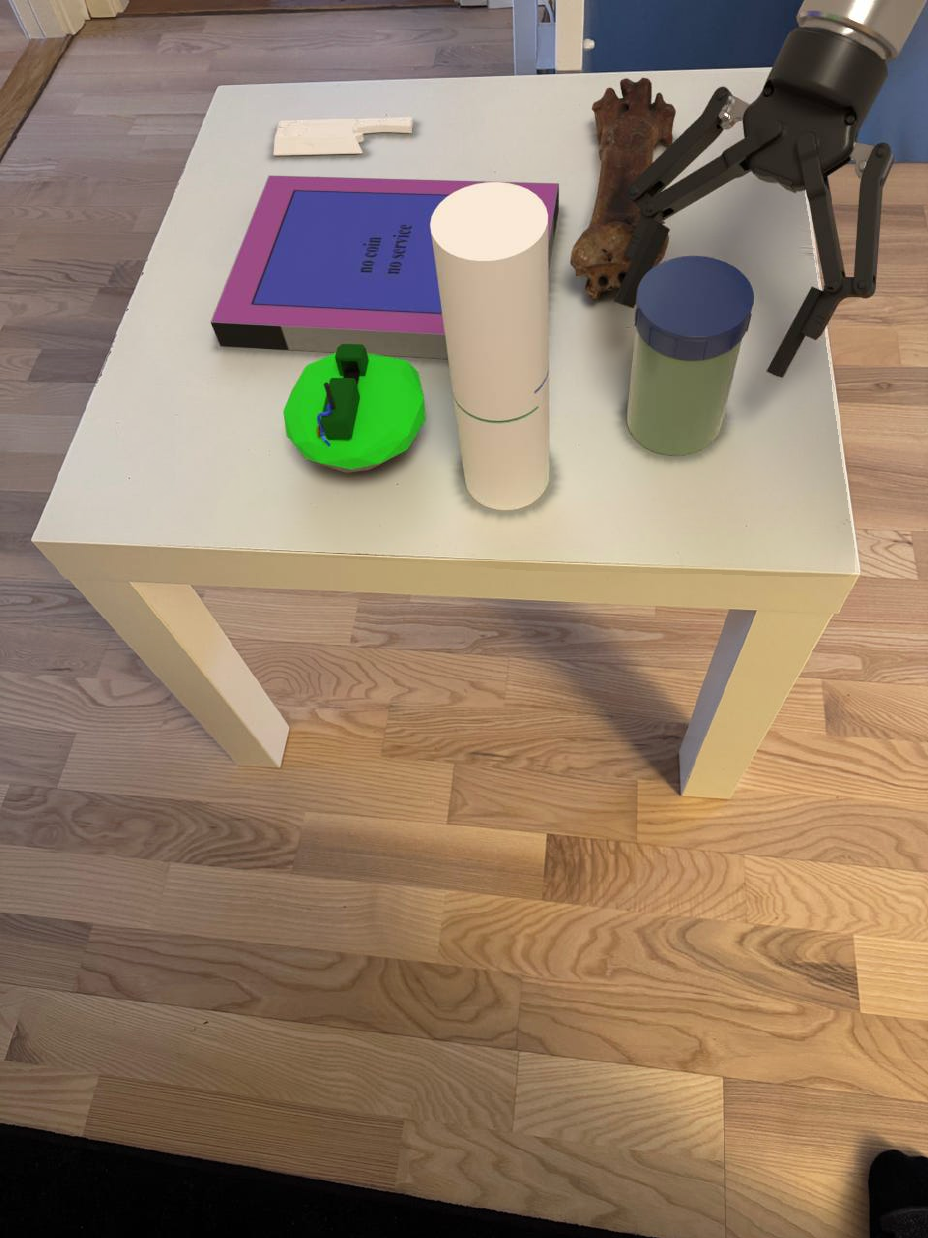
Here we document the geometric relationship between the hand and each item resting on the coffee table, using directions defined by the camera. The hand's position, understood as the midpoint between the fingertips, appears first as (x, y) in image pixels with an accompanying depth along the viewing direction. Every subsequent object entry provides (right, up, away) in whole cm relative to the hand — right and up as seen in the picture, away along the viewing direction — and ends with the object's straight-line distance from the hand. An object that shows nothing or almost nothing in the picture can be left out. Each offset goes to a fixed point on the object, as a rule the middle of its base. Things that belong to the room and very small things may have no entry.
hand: (696, 339), depth 72 cm
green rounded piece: (-27, -7, +8) cm, 29 cm away
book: (-25, +12, +18) cm, 33 cm away
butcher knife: (-32, +31, +29) cm, 53 cm away
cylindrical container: (-15, -10, +5) cm, 18 cm away
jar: (0, -5, +7) cm, 8 cm away
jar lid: (-1, +1, -5) cm, 5 cm away
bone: (-2, +19, +20) cm, 28 cm away
